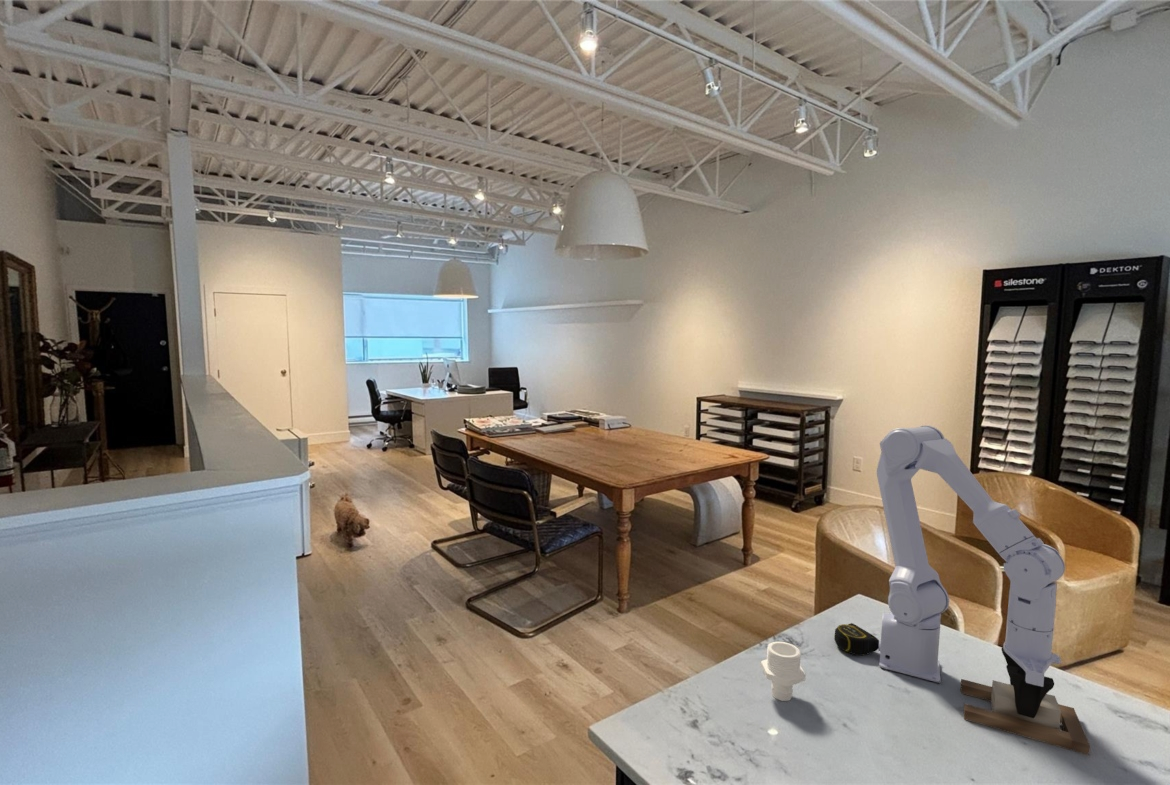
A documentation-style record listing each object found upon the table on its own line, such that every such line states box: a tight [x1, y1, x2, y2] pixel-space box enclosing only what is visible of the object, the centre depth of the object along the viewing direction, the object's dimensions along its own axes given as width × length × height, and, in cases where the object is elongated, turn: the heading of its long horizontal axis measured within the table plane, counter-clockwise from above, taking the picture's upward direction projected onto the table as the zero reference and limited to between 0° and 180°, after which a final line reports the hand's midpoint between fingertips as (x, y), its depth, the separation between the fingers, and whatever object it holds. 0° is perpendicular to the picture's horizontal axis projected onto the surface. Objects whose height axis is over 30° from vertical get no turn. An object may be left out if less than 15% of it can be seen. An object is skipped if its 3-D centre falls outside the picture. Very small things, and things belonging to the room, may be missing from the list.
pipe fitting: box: [760, 641, 807, 702], centre depth 95 cm, size 6×7×8 cm
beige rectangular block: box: [990, 679, 1061, 730], centre depth 90 cm, size 8×4×4 cm, turn 60°
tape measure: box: [833, 622, 880, 656], centre depth 110 cm, size 7×7×4 cm
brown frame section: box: [960, 678, 1091, 756], centre depth 90 cm, size 15×10×2 cm, turn 60°
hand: (1023, 706), depth 90 cm, fingers closed on beige rectangular block, 4 cm apart
